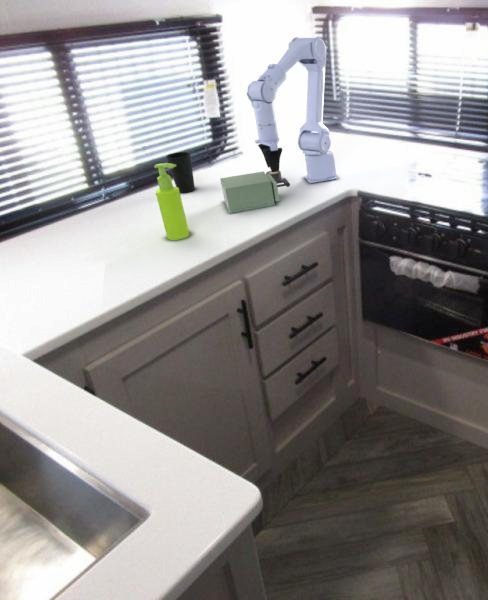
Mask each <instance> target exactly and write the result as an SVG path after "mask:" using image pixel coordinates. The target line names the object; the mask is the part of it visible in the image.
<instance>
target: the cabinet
mask: <svg viewBox="0 0 488 600" xmlns="http://www.w3.org/2000/svg"><path fill="white" fill-rule="evenodd" d="M219 180H220V185H221V190H222V195H223V196H222V197H223V200H224V203H225V206H226V208H227V210H228V212H229V214H233V213H240V212H244V211H249V210H250V211H251V210H257V209H261V208H268V207H272V206H275V205H276V204H275V200H274V196H273V190H272V184H271V180H270V179H269V178H268V177H267V175H266V172H265V171H264V170H263V171H258V172H257V171H256V172H252V173H244V174H239V175H232V176H227V177H220V178H219Z"/></svg>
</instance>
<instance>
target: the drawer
mask: <svg viewBox="0 0 488 600" xmlns="http://www.w3.org/2000/svg"><path fill="white" fill-rule="evenodd" d="M265 174H266V173H265ZM266 175H267V177H268V178H269V179H270V180H271V184H272V190H273V196H274V202H280V195H279V188H283V187H286V188H289V187H291V183H290V182H289V181H288V179H287V178H282V180H281V181H275V180H274V179H273V177H272V176H271V175H270V174H266Z"/></svg>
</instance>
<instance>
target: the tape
mask: <svg viewBox="0 0 488 600" xmlns="http://www.w3.org/2000/svg"><path fill="white" fill-rule="evenodd" d="M265 174H270V175H271V176H272V177H273V179H274V180H275V181H281V180H283V178H282V172H281V170H279V171H278V172H272V171H271V170H269V171H266V172H265Z"/></svg>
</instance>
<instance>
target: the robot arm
mask: <svg viewBox="0 0 488 600" xmlns="http://www.w3.org/2000/svg"><path fill="white" fill-rule="evenodd" d="M327 49H328V48H327V44H326V43H325V42H324V40H323V39H322V38H321V37H320V36H315V37H297V36H296V37H294V38H292V39H291V41H290V42H288V49H286V51H285V53H284V54H283V55H282V57H281V58H280V59H279V61H278V62H277V63H272V64H270V63H269V64H268V65H267V68H266V69H265V71H263V73H262V74H261V75H259V77H258V78H257V80H253V81H251V82H250V83H249V84H248V85H247V91H246V96H247V99H248V100H249V101H250V104H251V107H252V108H253V112H254V117H255V118H254V119H255V124H256V130H257V136H258V139H255V140H254V142H255V143H254V144H257V146H258V148H259V149H260V151H261V153H262V155H263V157H264V161H265V164H266V166H267V168H270V171H272V172H278V171H280V164H281V163H280V160H281V155H282V152H283V147H278V143H279V142H280V137H279V135H278V134H279V133H278V127H277V119H276V113H275V106H274V101H275V100H276V97H277V92H278V89H279V88H280V87H281V86H282V85H283V84H284V83H285V81H286V80H287V73H288V72H289V71H290V70H291V69H292V68H293V67H294V66H295V65H296V64H297V63H299V64H300V65H301V66H302V67H304V68H305V69H306V70H307V88H306V89H307V91H306V93H307V94H306V97H307V98H306V118H305V119H306V120H305V123H304V124H302V125H301V127H300V128H299V135H298V138H297V145H298V148H299V149H300V150H301V151H302V154H304V159H305V167H306V174H307V175H304V179H306V181H307V182H308V183H309V184H315V183H320V182H326V181H332V180H337V179H338V177H337V172H336V171H337V170H336V162H335V161H336V160H335V156H334V152H333V151H332V150H330V148H331V144H332V143H331V142H332V141H331V137H330V129H329V128H328V127H327V126H326V125H325V124H324V123H323V122H324V100H325V82H326V81H325V80H326V79H325V77H326V66H327Z"/></svg>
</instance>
